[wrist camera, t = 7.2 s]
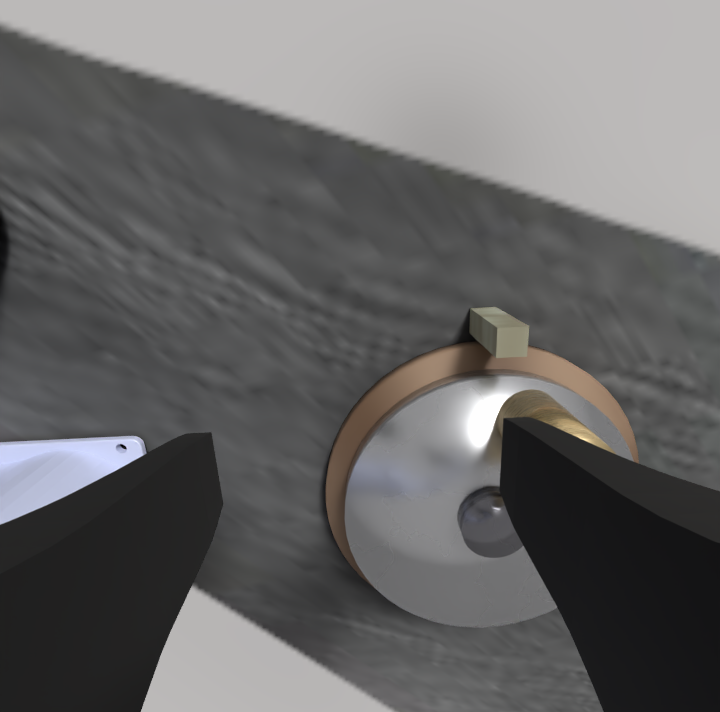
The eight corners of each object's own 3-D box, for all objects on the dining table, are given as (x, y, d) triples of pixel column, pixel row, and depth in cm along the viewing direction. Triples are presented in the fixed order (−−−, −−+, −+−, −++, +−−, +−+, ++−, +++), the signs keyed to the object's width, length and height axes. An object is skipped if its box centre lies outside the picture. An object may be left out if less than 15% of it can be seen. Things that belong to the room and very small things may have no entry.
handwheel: (561, 626, 24) (622, 744, 19) (319, 582, 23) (308, 694, 17) (670, 404, 20) (787, 471, 15) (384, 338, 19) (396, 383, 14)
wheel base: (336, 608, 25) (333, 677, 21) (312, 316, 20) (302, 337, 16) (607, 595, 25) (652, 661, 21) (653, 299, 20) (724, 316, 16)
